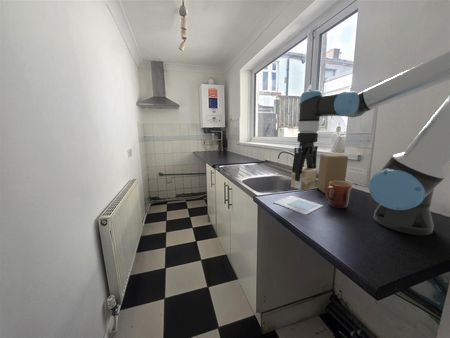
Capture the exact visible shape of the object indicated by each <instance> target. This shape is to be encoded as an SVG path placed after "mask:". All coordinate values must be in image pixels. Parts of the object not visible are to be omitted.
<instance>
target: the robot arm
mask: <svg viewBox="0 0 450 338" xmlns="http://www.w3.org/2000/svg"><path fill="white" fill-rule="evenodd" d="M447 81H450V50H448V51H445V52H443V53H440V54H438V55H437V56H435V57H432V58H431V59H427V60H426V61H424V62H422V63H419V64H418V65H416V66H414V67H412V68H409V69H407V70H405V71H403V72H400V73H399V74H396V75H394V76H393V77H390V78H387V79H385V80H384V81H382V82H378V84H375V85H373V86H371V87H369V88H367V89H364V90H362V91H360V92H359V93H358V92H357V91H355V90H353V91H342V92H338V93H331V94H326V95H325V94H323V92H322V91H321V90H308V91H304V92H302V93H301V95H300V103H299V117H298V125H297V126H298V130H297V131H298V133H297V141H296V142H298V143H299V145H298V147H294V154H293V163H292V169H291V173H292V172H294V173H295V188H294V189H298V190H301V187H302V176H303V174H302V169H303V167H305V166H304V164H305V163H306V168H312V169H316V168H317V158H318V157H317V154H318V148H319V146H317V145H315V144H314V143H317V142H318V139H319V138H318V137H319V133H318V132H319V127H320V118H321V117H348V118H356V117H360V116H363V115H364V114H365V113H366V112H369V111H372V110H374V109H376V108H379V107H381V106H384V105H387V104H390V103H393V102H395V101H398V100H400V99H402V98H406V97H407V96H411V95H413V94H416V93H418V92H421V91H424V90H427V89H429V88H432V87H434V86H437V85H439V84H442V83H445V82H447ZM305 161H306V162H305ZM449 163H450V94H449V96H448V97H447V98H446V99H445V100H444V102H443V103H442V104H441V105H440V106H439V108H438V109H437V110H436V111H435V113H434V114H433V115H432V116H431V118H430V119H429V120H428V122H427V123H426V124H425V125H424V126H423V128H422V129H421V130H420V131H419V133H418V134H417V135H416V136H415V137H414V139H413V140H412V141H411V143H409V145H408V146H407V147H406V148H405V150H404V151H403V152H399V153H393V155H391V157H390V158H389V159H388V161H387V162H386V163H385V165H383V167H382V168H381V169H380V170H379V171H377V172H376V173H375V174H373V175H372V177H370V180H369V183H368V190H369V194H370V196H371V197H372V198H373V200H374V201H375V202H376V203H378V204H379V205H378V206H377V207H376V209H375V210H374V213H373V220H374V221H375V222H376V223H377V224H378V225H381V226H383V227H385V228H388V229H389V230H393V231H395V232H399V233H402V234H408V235H413V236H431V235H432V234H433V231H434V228H435V226H434V221H433V217H432V212H431V205H432V200H433V195H434V191H435V189H436V188H437V186H438V185H440V183H441V182H442V181H444V179H445V178H446V177H447V175H446V173H445V167H446V166H447V165H448V164H449Z"/></svg>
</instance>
